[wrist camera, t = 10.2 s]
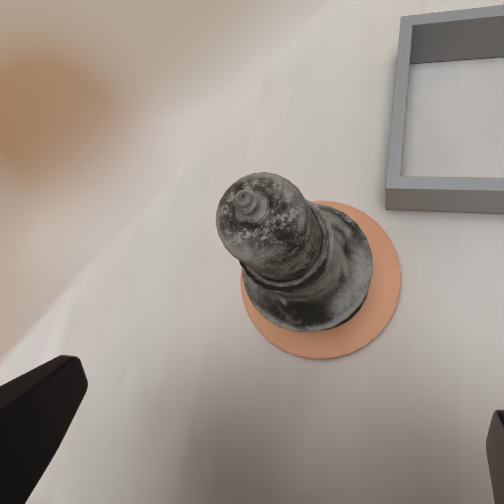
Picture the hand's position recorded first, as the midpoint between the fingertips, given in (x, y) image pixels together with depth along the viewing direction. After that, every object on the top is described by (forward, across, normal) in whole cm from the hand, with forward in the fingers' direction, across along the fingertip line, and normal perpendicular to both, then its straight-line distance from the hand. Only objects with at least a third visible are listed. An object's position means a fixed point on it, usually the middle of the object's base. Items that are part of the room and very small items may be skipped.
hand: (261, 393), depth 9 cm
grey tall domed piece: (+12, 0, +5) cm, 13 cm away
